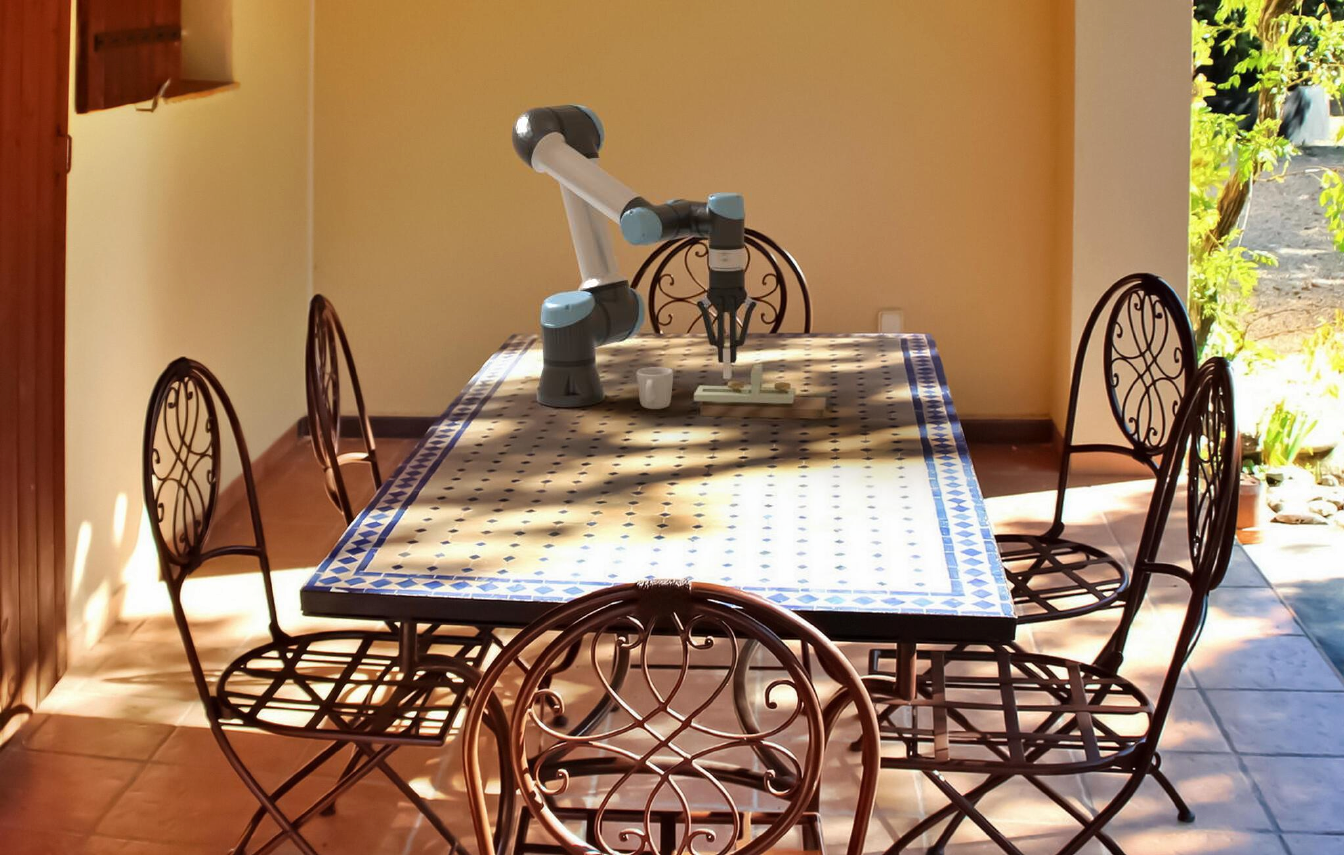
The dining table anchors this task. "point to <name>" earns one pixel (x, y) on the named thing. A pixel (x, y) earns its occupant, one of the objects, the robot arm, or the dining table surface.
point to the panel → (745, 392)
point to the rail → (766, 406)
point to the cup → (655, 387)
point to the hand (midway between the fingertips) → (727, 377)
